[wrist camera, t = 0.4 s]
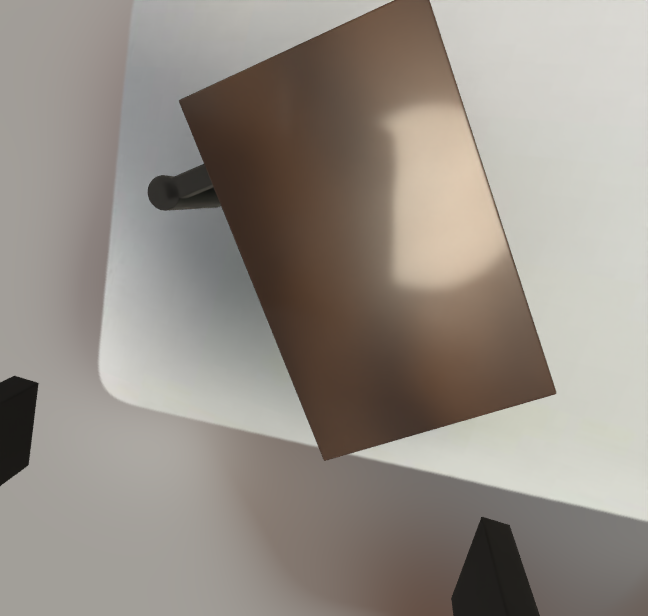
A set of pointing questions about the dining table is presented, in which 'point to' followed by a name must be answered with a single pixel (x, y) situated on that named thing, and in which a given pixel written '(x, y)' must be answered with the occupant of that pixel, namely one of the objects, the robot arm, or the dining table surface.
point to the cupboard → (371, 231)
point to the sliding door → (183, 191)
